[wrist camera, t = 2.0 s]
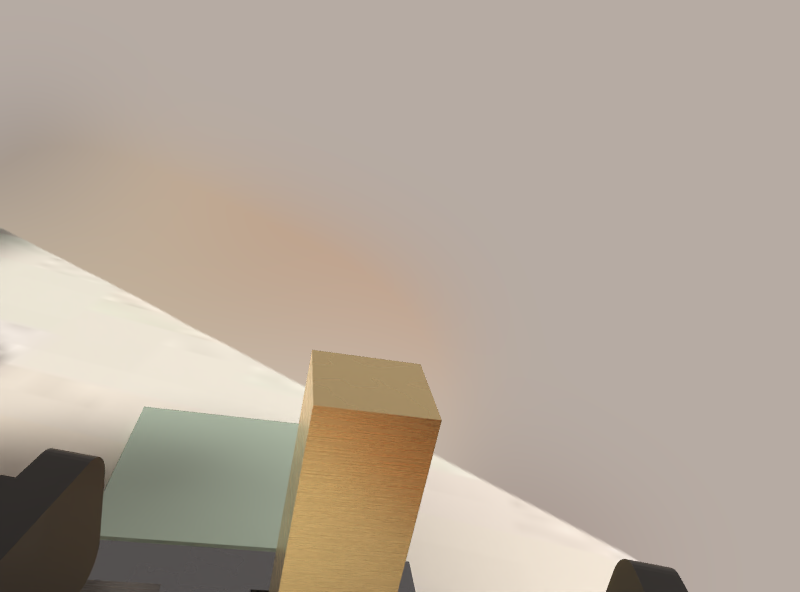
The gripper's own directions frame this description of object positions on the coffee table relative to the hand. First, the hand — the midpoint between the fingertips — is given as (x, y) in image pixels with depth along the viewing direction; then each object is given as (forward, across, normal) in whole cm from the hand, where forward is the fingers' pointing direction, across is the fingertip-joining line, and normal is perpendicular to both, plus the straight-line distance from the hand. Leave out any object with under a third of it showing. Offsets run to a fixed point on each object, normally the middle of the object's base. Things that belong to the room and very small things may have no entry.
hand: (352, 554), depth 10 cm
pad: (+24, +7, +16) cm, 29 cm away
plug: (+12, 0, +16) cm, 20 cm away
